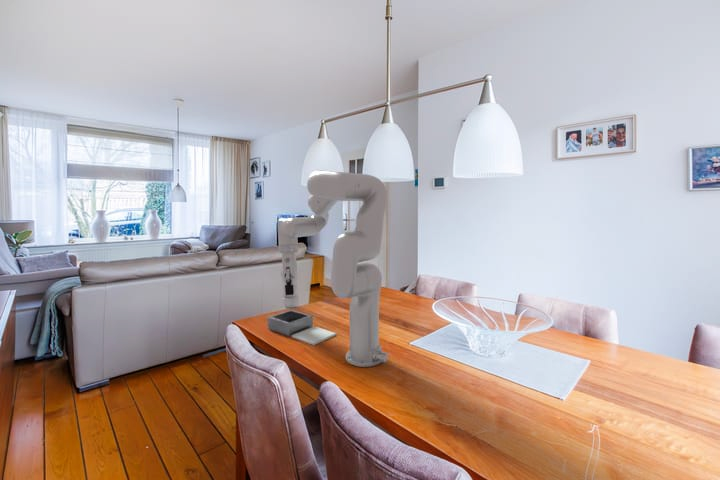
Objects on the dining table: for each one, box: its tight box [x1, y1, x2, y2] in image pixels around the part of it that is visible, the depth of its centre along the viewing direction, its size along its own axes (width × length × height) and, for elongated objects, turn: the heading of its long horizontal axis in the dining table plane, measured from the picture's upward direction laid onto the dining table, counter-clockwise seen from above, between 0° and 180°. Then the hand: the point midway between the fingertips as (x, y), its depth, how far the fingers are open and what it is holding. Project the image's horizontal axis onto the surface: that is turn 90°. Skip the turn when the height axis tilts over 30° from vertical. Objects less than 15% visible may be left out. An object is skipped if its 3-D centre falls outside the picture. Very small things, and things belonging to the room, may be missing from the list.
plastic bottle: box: [280, 259, 300, 310], centre depth 135 cm, size 6×7×20 cm
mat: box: [291, 326, 337, 346], centre depth 129 cm, size 12×12×1 cm
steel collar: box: [267, 309, 314, 338], centre depth 137 cm, size 13×12×5 cm
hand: (290, 292), depth 136 cm, fingers closed on plastic bottle, 5 cm apart
